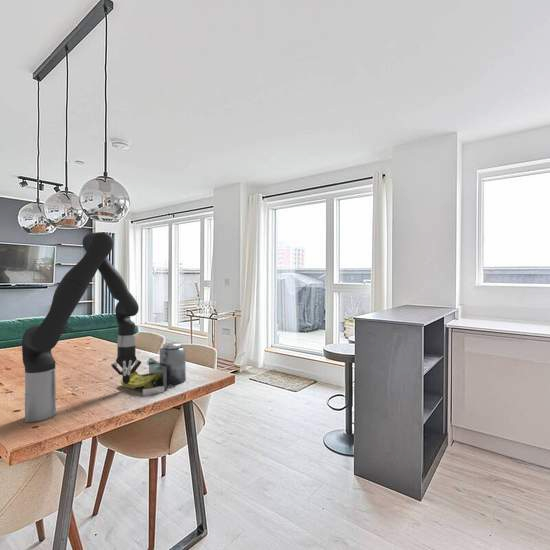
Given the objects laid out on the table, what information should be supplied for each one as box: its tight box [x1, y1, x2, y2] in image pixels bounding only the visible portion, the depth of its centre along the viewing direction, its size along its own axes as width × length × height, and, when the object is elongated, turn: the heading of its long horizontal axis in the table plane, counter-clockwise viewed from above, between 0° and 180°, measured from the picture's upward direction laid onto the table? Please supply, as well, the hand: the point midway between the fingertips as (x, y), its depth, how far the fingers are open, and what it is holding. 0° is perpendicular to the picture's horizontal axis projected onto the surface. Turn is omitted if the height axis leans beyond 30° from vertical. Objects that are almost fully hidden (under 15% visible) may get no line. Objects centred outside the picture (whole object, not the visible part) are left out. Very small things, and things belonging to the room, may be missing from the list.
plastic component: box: [119, 370, 158, 390], centre depth 157 cm, size 20×7×10 cm
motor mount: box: [138, 341, 187, 397], centre depth 162 cm, size 23×26×18 cm
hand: (126, 383), depth 153 cm, fingers closed
